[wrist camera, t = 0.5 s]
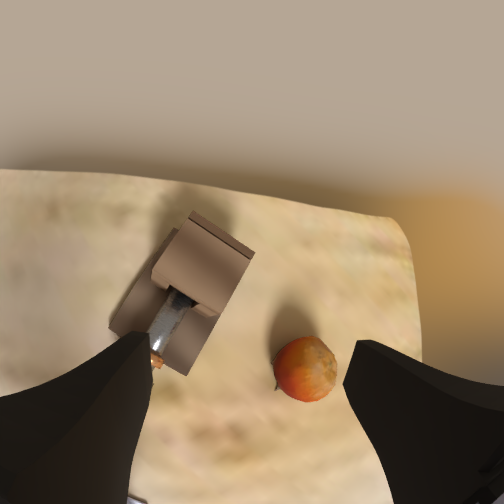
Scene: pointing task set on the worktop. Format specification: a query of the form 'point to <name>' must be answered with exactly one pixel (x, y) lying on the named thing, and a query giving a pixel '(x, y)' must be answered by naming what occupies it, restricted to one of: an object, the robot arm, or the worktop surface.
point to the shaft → (166, 324)
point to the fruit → (305, 369)
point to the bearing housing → (186, 287)
